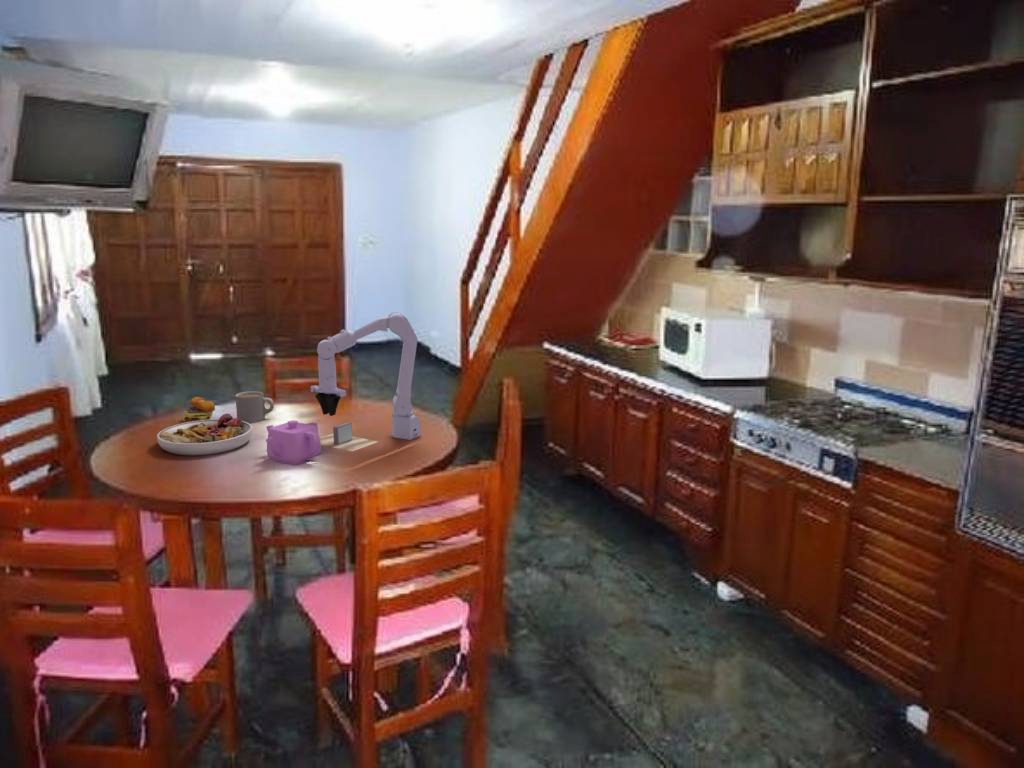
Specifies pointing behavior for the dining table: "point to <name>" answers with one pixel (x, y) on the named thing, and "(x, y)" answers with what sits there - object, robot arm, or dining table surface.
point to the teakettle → (293, 442)
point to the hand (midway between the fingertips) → (329, 414)
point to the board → (346, 443)
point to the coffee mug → (252, 406)
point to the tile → (342, 433)
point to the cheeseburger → (199, 410)
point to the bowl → (205, 436)
